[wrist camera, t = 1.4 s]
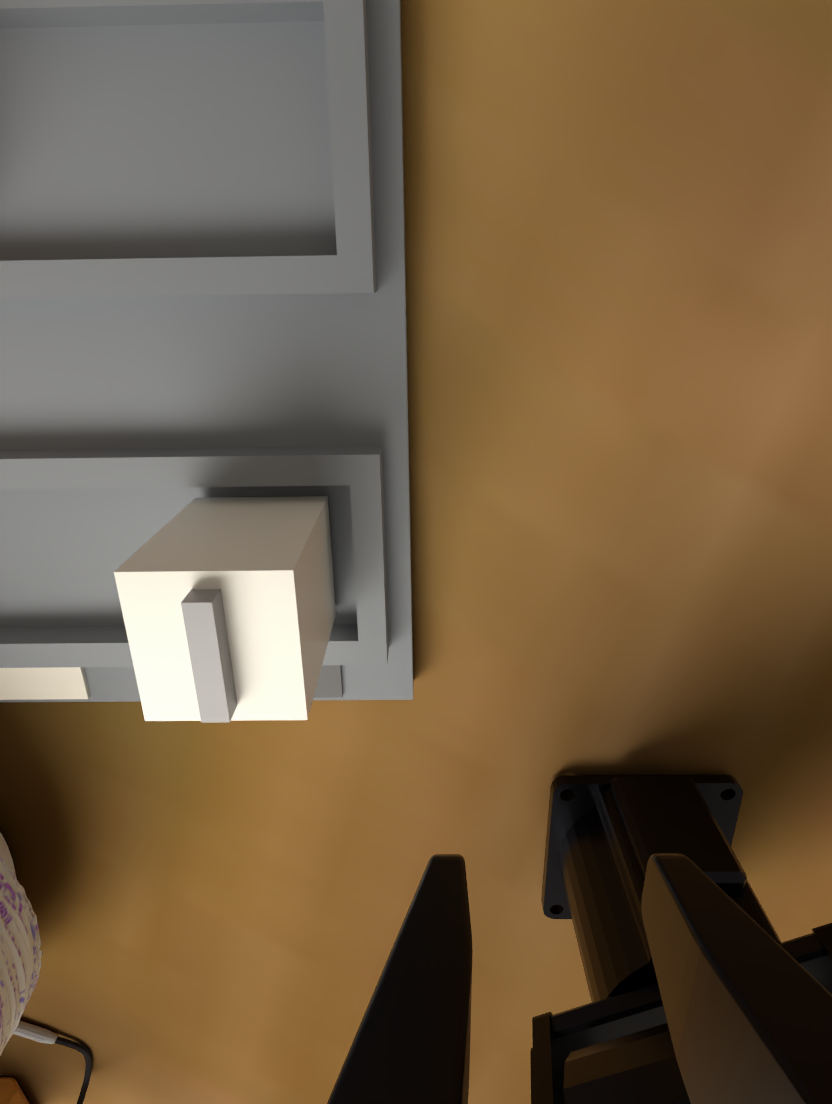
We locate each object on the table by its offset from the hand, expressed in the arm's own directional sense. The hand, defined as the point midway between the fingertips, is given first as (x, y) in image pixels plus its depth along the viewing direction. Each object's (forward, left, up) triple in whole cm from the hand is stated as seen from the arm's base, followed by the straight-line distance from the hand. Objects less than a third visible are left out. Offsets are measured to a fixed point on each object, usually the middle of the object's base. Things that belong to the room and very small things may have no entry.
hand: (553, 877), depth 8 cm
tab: (0, +6, -11) cm, 12 cm away
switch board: (+5, +10, -12) cm, 16 cm away
